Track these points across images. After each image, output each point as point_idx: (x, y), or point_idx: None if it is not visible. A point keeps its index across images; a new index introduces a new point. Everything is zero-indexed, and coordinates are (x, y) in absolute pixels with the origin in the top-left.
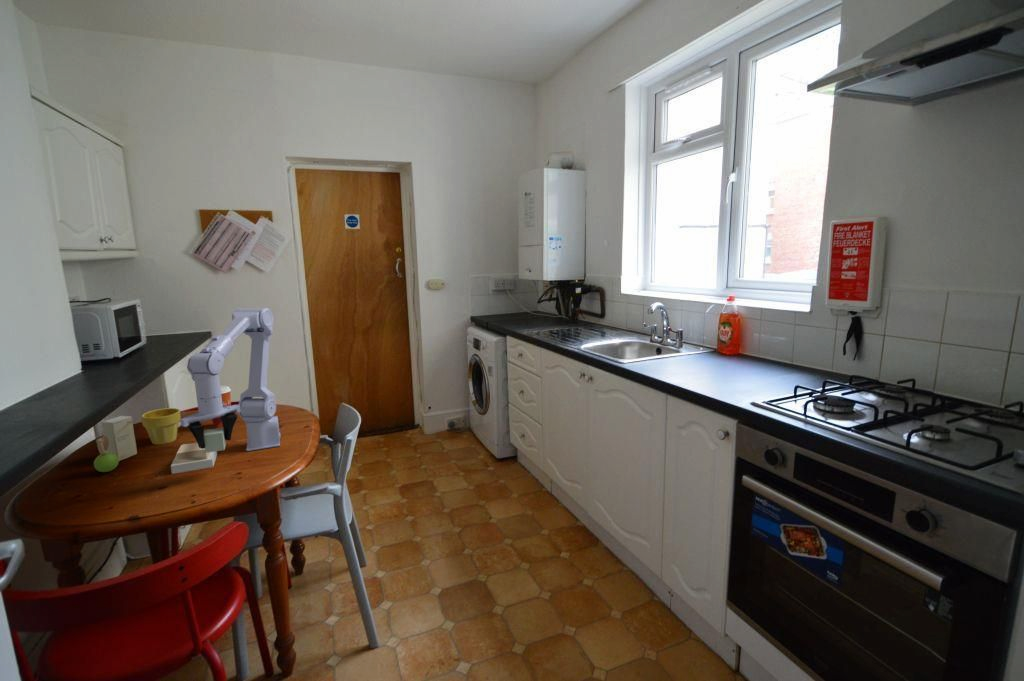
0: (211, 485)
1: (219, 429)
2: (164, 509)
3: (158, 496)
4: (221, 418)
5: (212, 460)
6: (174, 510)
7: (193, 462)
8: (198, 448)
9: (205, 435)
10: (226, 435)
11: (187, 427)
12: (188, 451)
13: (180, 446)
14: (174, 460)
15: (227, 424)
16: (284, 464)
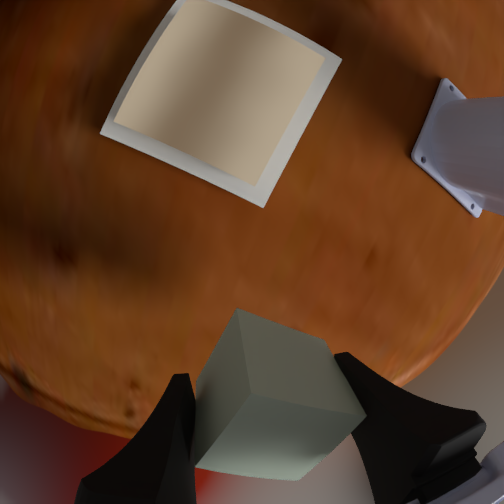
0: (189, 364)
1: (325, 436)
2: (70, 395)
3: (52, 315)
4: (410, 444)
5: (263, 203)
6: (90, 414)
7: (186, 171)
8: (231, 135)
9: (209, 467)
10: None
11: (90, 475)
12: (170, 140)
13: (174, 17)
14: (134, 71)
15: (372, 466)
16: (394, 366)
